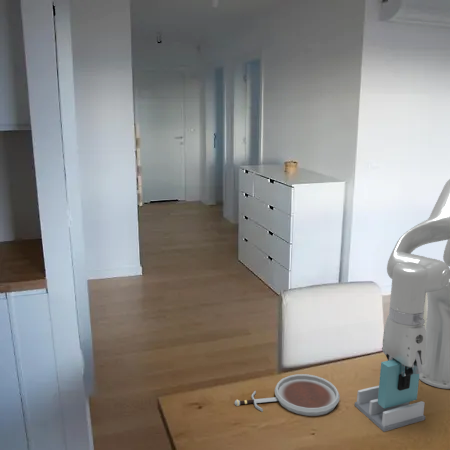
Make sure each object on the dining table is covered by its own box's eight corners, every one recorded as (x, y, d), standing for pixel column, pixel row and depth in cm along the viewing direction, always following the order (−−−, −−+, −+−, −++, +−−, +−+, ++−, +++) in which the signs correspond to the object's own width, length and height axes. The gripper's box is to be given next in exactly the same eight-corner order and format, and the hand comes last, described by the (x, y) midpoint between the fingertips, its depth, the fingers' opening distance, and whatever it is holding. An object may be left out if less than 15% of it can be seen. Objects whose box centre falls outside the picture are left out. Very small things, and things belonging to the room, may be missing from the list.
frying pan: (228, 380, 130) (325, 369, 135) (228, 389, 131) (324, 379, 136) (241, 418, 114) (351, 404, 119) (241, 429, 115) (350, 415, 119)
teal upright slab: (409, 394, 120) (413, 354, 117) (416, 399, 117) (421, 359, 115) (377, 403, 116) (381, 362, 113) (384, 408, 114) (388, 367, 111)
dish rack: (393, 395, 127) (394, 380, 126) (424, 419, 117) (426, 403, 116) (354, 405, 123) (355, 390, 122) (383, 431, 112) (385, 415, 111)
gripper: (445, 326, 106) (436, 400, 110) (394, 300, 120) (388, 367, 124) (418, 331, 103) (410, 407, 107) (370, 305, 118) (365, 372, 122)
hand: (398, 385), depth 116 cm, fingers closed on teal upright slab, 2 cm apart
